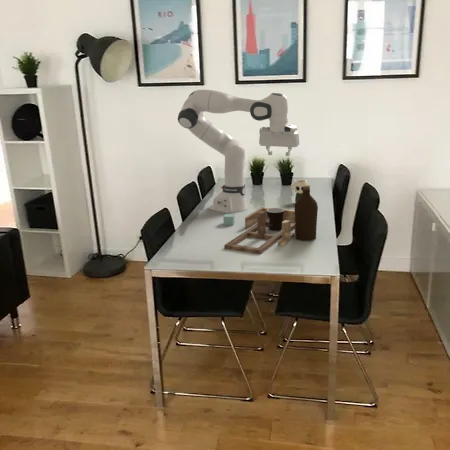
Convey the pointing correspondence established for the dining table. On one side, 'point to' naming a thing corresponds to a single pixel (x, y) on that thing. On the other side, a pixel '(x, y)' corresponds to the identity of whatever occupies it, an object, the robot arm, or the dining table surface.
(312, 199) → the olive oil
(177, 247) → the dining table surface
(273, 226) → the coffee mug
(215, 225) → the dining table surface
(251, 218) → the frame
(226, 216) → the teal cube
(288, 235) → the tan blocky wooden part
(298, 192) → the character mug
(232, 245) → the brown rectangular open frame
